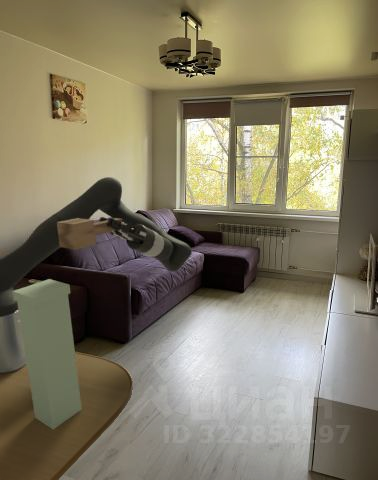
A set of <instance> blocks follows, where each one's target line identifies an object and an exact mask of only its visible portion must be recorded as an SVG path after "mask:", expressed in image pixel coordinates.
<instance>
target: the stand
mask: <svg viewBox="0 0 378 480" xmlns="http://www.w3.org/2000/svg"><path fill="white" fill-rule="evenodd" d="M70 286H71V285H70V284H69V283H65V282H61V281H57V280H53V279H51V278H48V279H46V280H42V281H39V282H36V283H32V284H31V285H28V286H25V287H21V288H19V289H14V291H13V296H14V300H16V301H17V303H18V309H19V316H20V322H21V329H22V335H23V342H24V348H25V355H26V361H27V363H26V367H27V373H28V381H29V386H30V392H31V398H32V406H33V411H34V417H35V419H36V420H37V421H39V422H41V423H42V424H44V425H45V426H47V427H48V428H50V429H51V430H55V429H56V428H57V427H59V426H60V425H61V424H63V423H64V422H66V421H67V420H69V419H70V418H72V417H73V416H74V415H76V414H77V413H79V412H81V411H82V410H83V409H82V401H81V399H82V398H81V393H80V391H81V390H80V384H79V375H78V367H77V358H76V349H75V343H74V342H75V341H74V335H73V326H72V317H71V308H70V302H69V295H70V294H71V287H70Z"/></svg>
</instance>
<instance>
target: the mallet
mask: <svg viewBox="0 0 378 480" xmlns="http://www.w3.org/2000/svg"><path fill="white" fill-rule="evenodd" d="M114 219H115V220H117V221H119V222H120V223H121V222H123V221H122V219H118V218H114ZM107 222H108V220H105V221H101V222H99V221H98V222H95V219H91V218H90V219H81V218H76V219H71V220H66V221H61V222H57V228H58V236H59V244H60V248H64V249H69V250H75V251H77V250H81V249H84V248H87V247H91V246H94V245H96V244H97V240H96V236H98V235H103V234H106V233H108V232H111V231H115V229H113V228H111V227H109V226H107Z"/></svg>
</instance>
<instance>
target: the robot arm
mask: <svg viewBox="0 0 378 480" xmlns="http://www.w3.org/2000/svg"><path fill="white" fill-rule="evenodd" d="M122 193H123V188H122V184H121V181H119V180H118V179H117V178H115V177H111V176H109V177H108V176H107V177H103V178H101V179H98V180H97V181H96V182H95V183H93V184H92V185H91V186H90V187H89V188H88V189H86V191H84V192H83V193H82V194H81V195H80V196H78V197H77V198H76V199H74V200H73V201H71V202H70V203H68V204H66V206H64V207H63V208H61V209H60V210H58V211H57V212H55V213H53V214H52V215H51V216H49V217H48V218H47V219H45V220H43V221H42V222H41V223H39V225H37V226H36V227H35V229H33V231H32V233H31V234H30V235H29V237H28V238H27V239H26V241H25V242H24V243H22V244H21V245H20V246H18V248H16V249H15V250H13V251H11V252H9V254H6V255H5V256H0V373H2V374H3V373H10V372H14V371H16V370H19V369H21V368H23V367H25V365H27V361H26V355H25V348H24V342H23V335H22V329H21V322H20V316H19V309H18V303H17V301H16V300H14V296H13V291H15V289H14V286H15V285H17V284H18V282H20V281H21V280H22V279H23V278H24V277H25V276H26V275H27V274H28V273H30V271H31V270H32V269H34V268H35V267H36V266H37V265H38V264H40V263H41V262H43V261H44V260H45V259H46V258H48V257H49V256H50V255H52V254H53V253H55V252H56V251H57V250H59V249H60V248H61V247H60V244H59V236H58V228H57V222H61V221H66V220H71V219H76V218H81V219H90V220H91V217H92V216H93V215H94V214H95V213H96V212H98V211H101V212H102V213H104V214H106V215H107V216H108V217H109V218H106V217H104V216H101V217H100V218H99V220H98V222H101V221H105V220H108V222H107V226H109V227H111V228H113V229H115V231H111V232H107V233H108V234H109V235H111V236H116V237H118V238H120V239H122V240H125V241H126V244H127V247H128V248H130V249H131V250H133V251H135V252H138V253H140V254H142V255H145V256H148V257H151V258H153V259H155V260H158V261H159V262H160V263H161V265H163V266H164V268H165V269H166V270H168V271H169V272H173V273H174V272H177V271H179V270H180V269H181V268H182V267H183V265H184V264H186V262H187V261H188V260H189V258H190V257H191V256H192V253H193V252H192V248H191V246H190V245H189V244H188V243H186V242H184V241H182V240H180V239H178V238H176V237H174V236H172V235H170V234H168V233H167V232H166V231H165V230H163V229H162V227H160V226H159V225H157V224H156V223H155V222H154V221H153V220H151V219H149V218H147V217H145V216H143V215H140V214H137V213H136V212H133V211H132V210H131V209H129V208H128V207H127V206H126V205H125V204H124V203H123V201H122V200H121V199H122V195H123V194H122ZM114 218H118V219H122V221H123V222H121V223H120V222H119V221H117V220H115V219H114Z"/></svg>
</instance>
